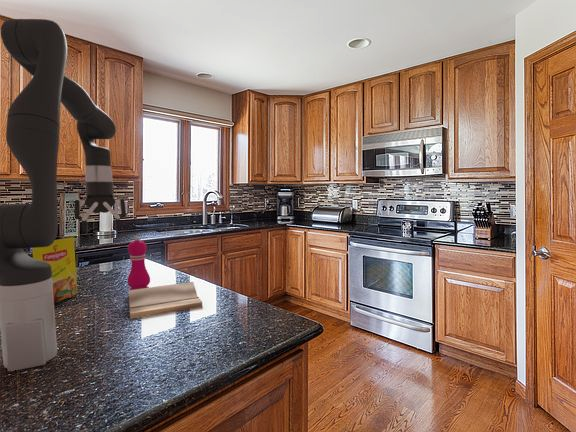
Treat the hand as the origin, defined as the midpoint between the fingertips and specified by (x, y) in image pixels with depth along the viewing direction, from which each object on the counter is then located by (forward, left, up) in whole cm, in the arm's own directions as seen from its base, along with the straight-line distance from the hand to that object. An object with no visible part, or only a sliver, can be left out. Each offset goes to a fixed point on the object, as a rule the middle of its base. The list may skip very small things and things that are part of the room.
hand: (102, 231), depth 109 cm
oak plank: (-18, -16, -23) cm, 33 cm away
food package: (+7, +14, -23) cm, 28 cm away
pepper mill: (+3, -10, -23) cm, 25 cm away
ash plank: (-12, -16, -21) cm, 29 cm away
